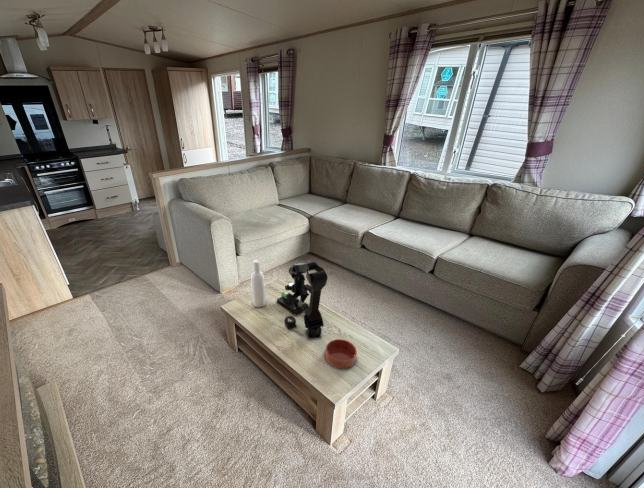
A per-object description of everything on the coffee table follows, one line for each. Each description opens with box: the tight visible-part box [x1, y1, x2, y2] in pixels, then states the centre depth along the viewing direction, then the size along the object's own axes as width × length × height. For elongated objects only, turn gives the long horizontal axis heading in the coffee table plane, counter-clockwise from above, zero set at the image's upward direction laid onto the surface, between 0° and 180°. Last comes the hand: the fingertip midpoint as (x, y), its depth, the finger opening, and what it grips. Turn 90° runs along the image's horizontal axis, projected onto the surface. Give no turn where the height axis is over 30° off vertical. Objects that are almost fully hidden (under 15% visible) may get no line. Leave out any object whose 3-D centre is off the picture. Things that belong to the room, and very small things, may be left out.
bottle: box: [250, 259, 267, 308], centre depth 176 cm, size 8×8×30 cm
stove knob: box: [296, 298, 302, 308], centre depth 175 cm, size 4×4×4 cm
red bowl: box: [325, 338, 358, 369], centre depth 144 cm, size 14×14×5 cm
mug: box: [283, 313, 302, 335], centre depth 161 cm, size 12×6×8 cm, turn 42°
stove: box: [276, 292, 309, 317], centre depth 180 cm, size 18×10×3 cm, turn 40°
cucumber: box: [281, 291, 289, 297], centre depth 182 cm, size 4×9×4 cm, turn 40°
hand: (299, 305), depth 176 cm, fingers closed on stove knob, 4 cm apart
